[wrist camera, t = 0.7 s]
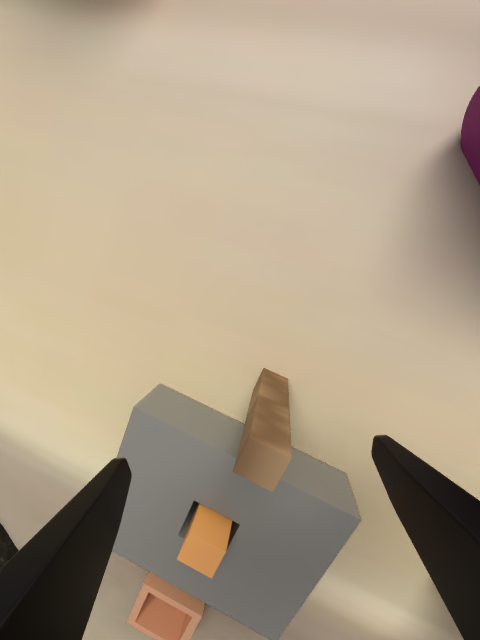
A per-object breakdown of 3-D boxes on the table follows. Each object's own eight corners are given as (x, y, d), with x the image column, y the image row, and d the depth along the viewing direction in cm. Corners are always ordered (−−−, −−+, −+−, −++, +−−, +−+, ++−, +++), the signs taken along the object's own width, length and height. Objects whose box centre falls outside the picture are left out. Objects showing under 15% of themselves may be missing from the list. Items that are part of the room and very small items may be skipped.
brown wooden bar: (287, 378, 22) (291, 458, 13) (277, 400, 23) (272, 492, 13) (263, 367, 22) (249, 437, 13) (253, 389, 23) (232, 472, 13)
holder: (213, 568, 28) (202, 616, 24) (194, 604, 29) (180, 654, 25) (162, 541, 28) (143, 583, 25) (146, 577, 30) (126, 622, 26)
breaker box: (346, 473, 23) (361, 519, 19) (276, 582, 27) (275, 642, 22) (160, 383, 25) (133, 406, 20) (119, 497, 28) (89, 538, 24)
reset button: (235, 504, 23) (225, 551, 19) (223, 528, 23) (211, 578, 20) (205, 489, 23) (189, 532, 19) (193, 512, 24) (176, 559, 20)
